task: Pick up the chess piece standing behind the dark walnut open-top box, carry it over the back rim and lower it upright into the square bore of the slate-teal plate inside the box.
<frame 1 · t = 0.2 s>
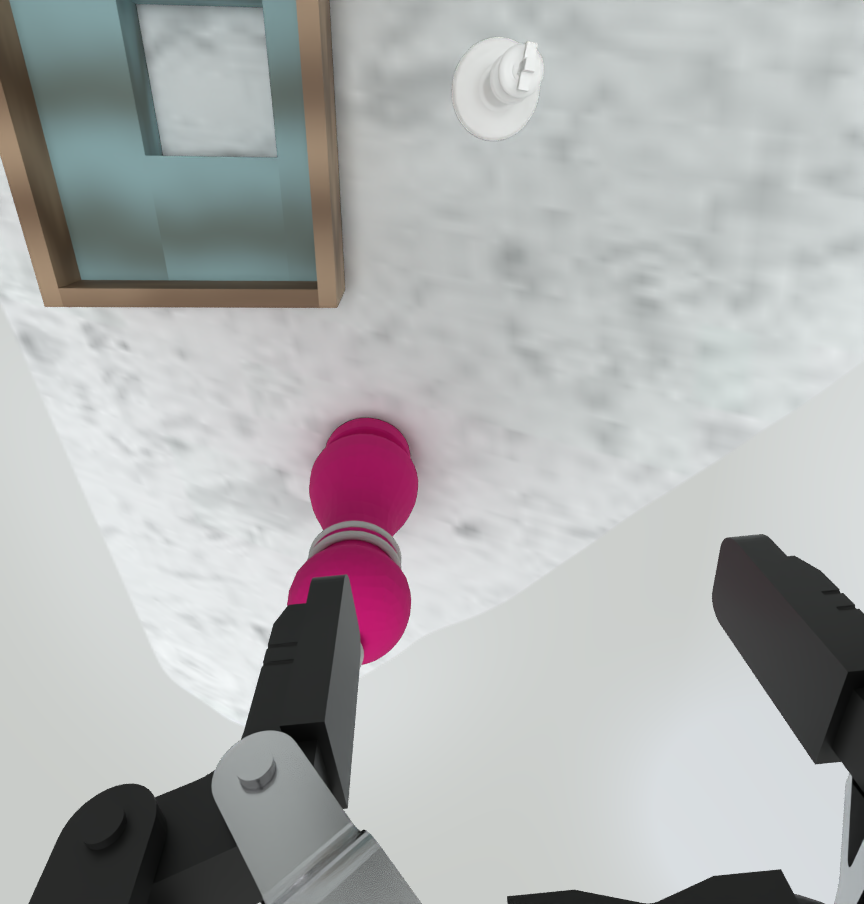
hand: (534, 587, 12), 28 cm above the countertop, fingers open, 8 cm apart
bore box: (187, 84, 31), on the countertop
chess piece: (494, 91, 32), on the countertop
pepper mill: (367, 454, 42), on the countertop
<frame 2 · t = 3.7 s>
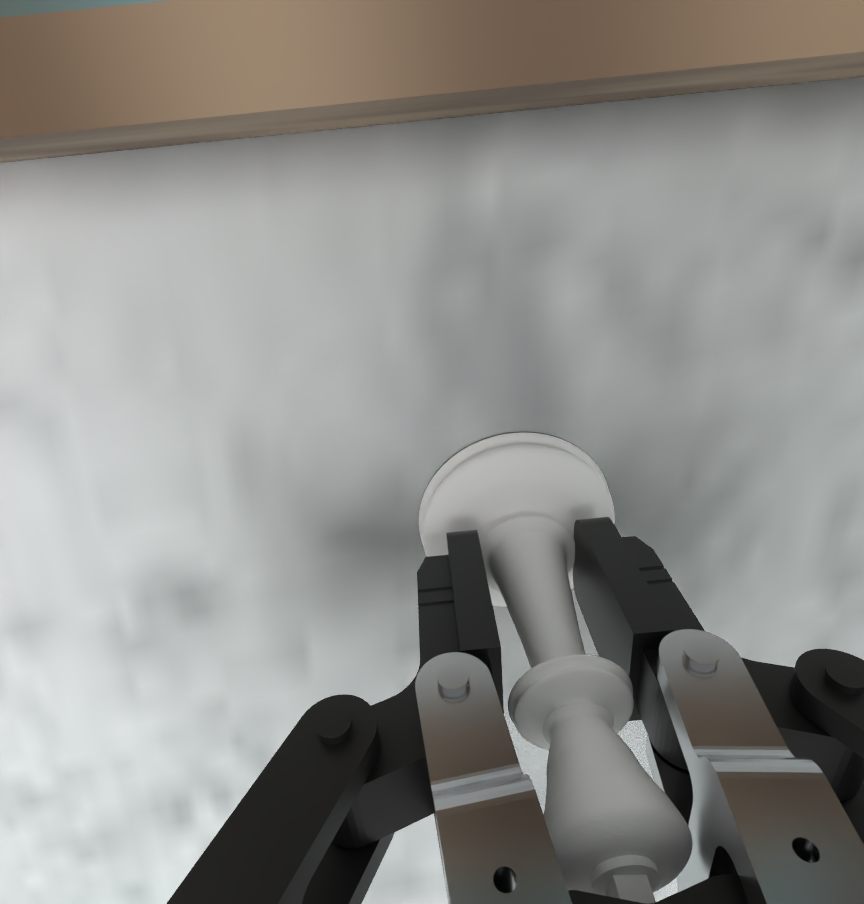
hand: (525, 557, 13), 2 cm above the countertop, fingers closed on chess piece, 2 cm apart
chess piece: (512, 513, 15), on the countertop, touching gripper
when the fingers open (3 cm above the countertop, at t = 8.7 s): chess piece drops 1 cm, resting in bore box.
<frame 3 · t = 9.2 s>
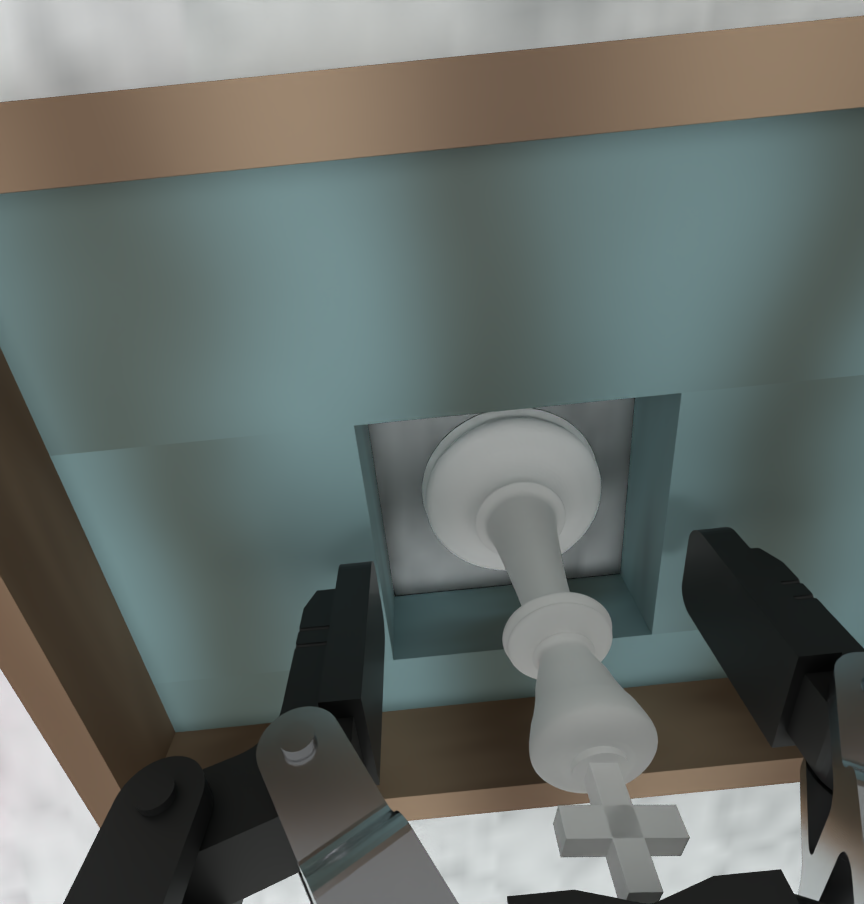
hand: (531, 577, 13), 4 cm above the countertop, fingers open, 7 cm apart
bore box: (502, 440, 15), on the countertop
chess piece: (508, 483, 16), resting in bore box
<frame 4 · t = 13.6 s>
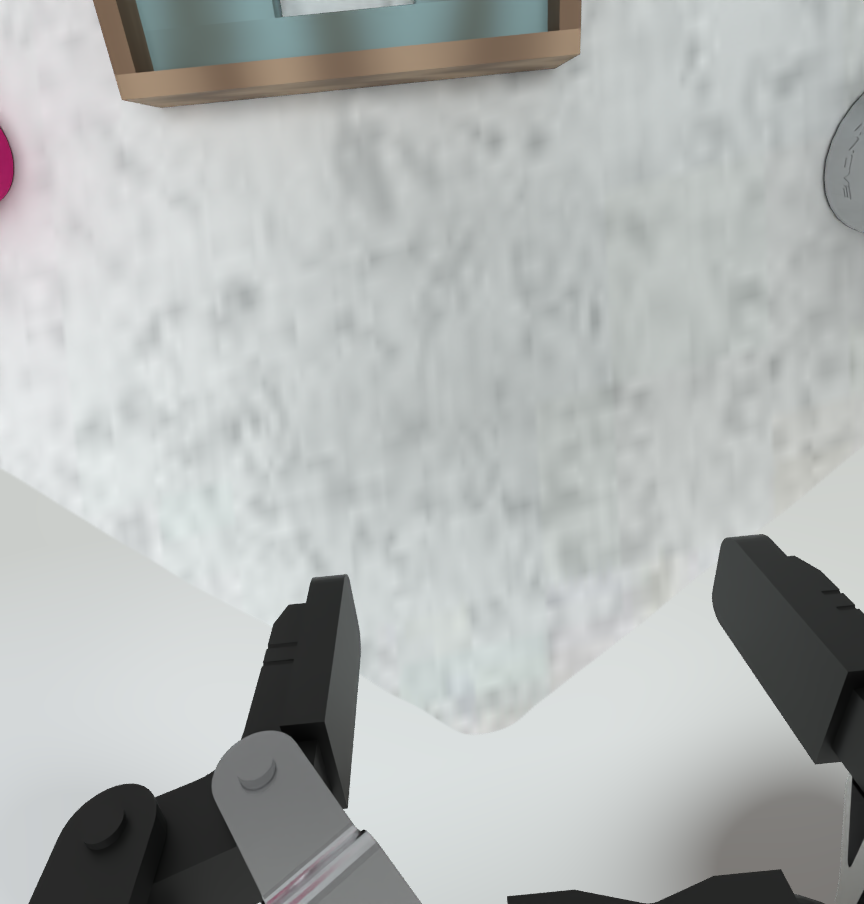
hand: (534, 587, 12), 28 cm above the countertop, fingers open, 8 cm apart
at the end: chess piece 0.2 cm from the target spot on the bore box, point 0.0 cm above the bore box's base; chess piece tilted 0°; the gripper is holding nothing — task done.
